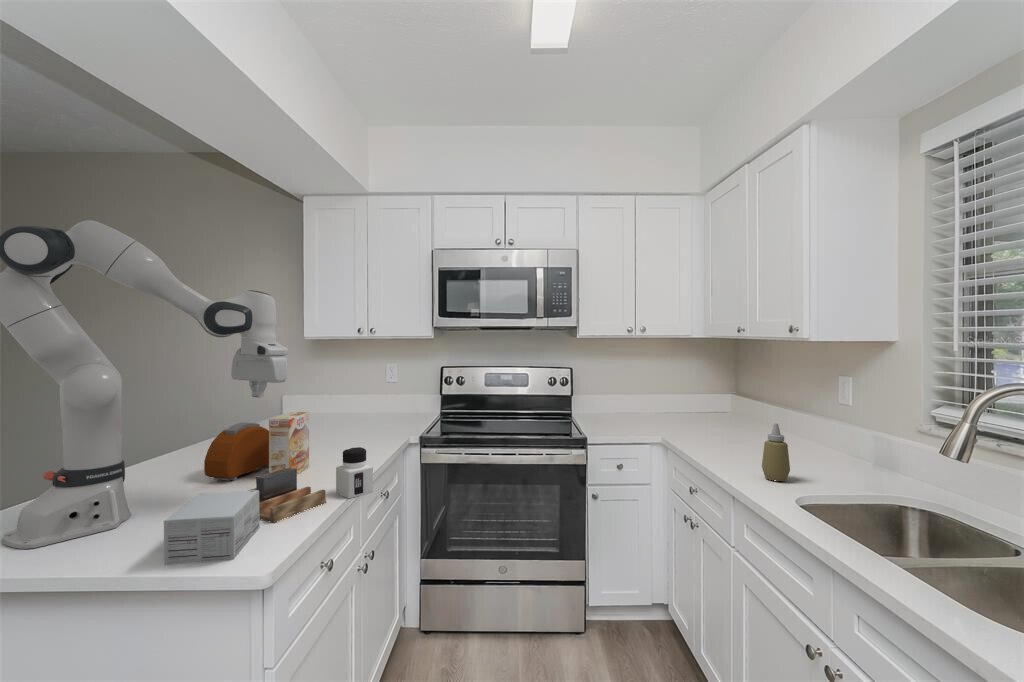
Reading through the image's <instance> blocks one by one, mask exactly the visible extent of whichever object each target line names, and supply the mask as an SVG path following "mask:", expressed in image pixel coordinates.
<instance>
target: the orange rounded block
mask: <svg viewBox="0 0 1024 682" xmlns="http://www.w3.org/2000/svg"><path fill="white" fill-rule="evenodd" d="M203 461H204V464H203V466H204V467H203V470H204V475H205V476H207V477H209V478H213V479H214V480H216V479H221V480H220V481H230V480H234V481H233V482H236V481H237V480H238V477H239V476H243V475H244V474H247V473H250V472H253V471H255V470H258V469H262V468H263V467H265V468H266V469H267V468H268V469H269V429H268V428H265V427H263V426H261V424H260V423H256V422H238V423H235V424H233V425H231V426H230V427H227V428H225V429H223V430H222V431H221V432H220V433H219V434H217V436H215V438H214V439H213V440H212V441H211V444H210V445H209V447H208V448H207V451H206V455H205V457H204V460H203ZM235 480H236V481H235Z"/></svg>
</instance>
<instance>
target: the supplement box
mask: <svg viewBox="0 0 1024 682" xmlns="http://www.w3.org/2000/svg"><path fill="white" fill-rule="evenodd" d="M260 520H261V519H259V491H258V490H252V491H247V490H240V491H222V492H220V491H219V492H204V493H199V494H198V495H196V496H195V497H193V498H192V499H191V500H190V501H188V502H187V503H186V504H185V505H183V506H182V507H180V508H179V509H178V510H177V511H175V512H174V513H172V514H171V515H170V516H168V517H167V518H166V519H164V520H163V553H164V555H163V558H164V559H163V560H164V564H163V565H164V566H168V565H171V566H172V565H182V564H184V565H185V564H194V563H206V562H207V563H208V562H221V561H222V562H223V561H233V560H235V559H236V557H237V556H238V555H239V554H240V552H242V550H243V548H244V547H246V545H247V544H248V543H249V542H250V540H251V538H252V537H253V536H254V535H255V534H256V533H257V531H258V530H259V529H260V526H261V525H260Z"/></svg>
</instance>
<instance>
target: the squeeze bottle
mask: <svg viewBox="0 0 1024 682" xmlns="http://www.w3.org/2000/svg"><path fill="white" fill-rule="evenodd" d="M788 446H789V445H788V443H786V442H785V435H784V434H782V433H781V430H780V426H779V424H778V423H773V425H772V431H771V433H769V434H767V440H766V441H764V443H763V450H762V451H763V453H762V460H761V461H762V462H761V468H762V472H763V475H764V478H765V479H766V478H767V479H770V480H769V481H771V480H776V481H784V482H786V481H787V480H788V478H789V474H790V472H791V465H790V456H789V447H788ZM767 479H766V480H767ZM785 480H786V481H785Z"/></svg>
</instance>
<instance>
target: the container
mask: <svg viewBox="0 0 1024 682" xmlns="http://www.w3.org/2000/svg"><path fill="white" fill-rule="evenodd" d="M335 489H336V490H335V492H336V494H338V495H340V496H342V497H345V498H347V499H354V498H357V497H360V496H361V497H362V496H365V495H369V494H372V493H373V492H374V467H373V466H372V465H369V464H367V450H366V449H365V448H364V447H361V446H354V447H348V448H346V449H344V450H343V451H342V465H338V466H336V467H335Z"/></svg>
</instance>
